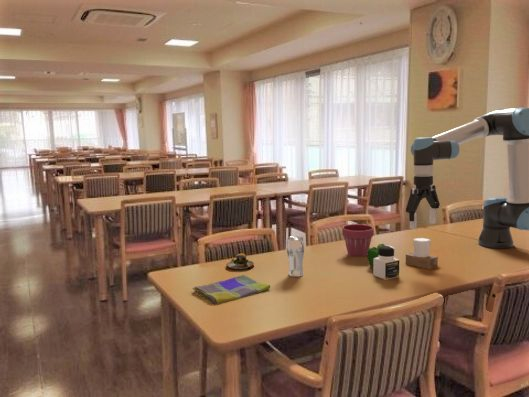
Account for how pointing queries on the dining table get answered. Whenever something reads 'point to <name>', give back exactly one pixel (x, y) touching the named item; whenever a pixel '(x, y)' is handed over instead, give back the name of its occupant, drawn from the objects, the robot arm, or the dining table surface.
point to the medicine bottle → (386, 263)
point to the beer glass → (295, 255)
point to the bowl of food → (240, 262)
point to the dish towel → (231, 289)
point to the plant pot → (357, 239)
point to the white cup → (421, 247)
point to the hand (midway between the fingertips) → (423, 226)
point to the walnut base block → (422, 261)
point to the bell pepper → (373, 254)
